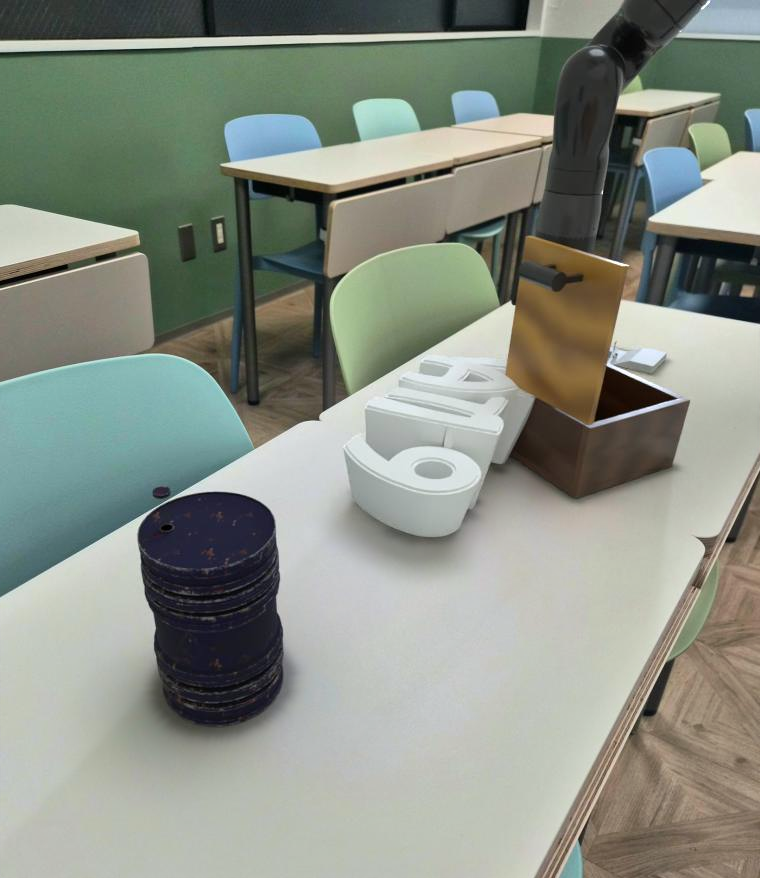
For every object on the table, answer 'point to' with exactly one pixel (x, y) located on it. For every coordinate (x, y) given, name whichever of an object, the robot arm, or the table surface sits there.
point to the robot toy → (637, 359)
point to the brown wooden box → (605, 436)
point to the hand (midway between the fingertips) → (546, 348)
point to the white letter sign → (435, 442)
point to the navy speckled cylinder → (214, 604)
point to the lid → (564, 325)
